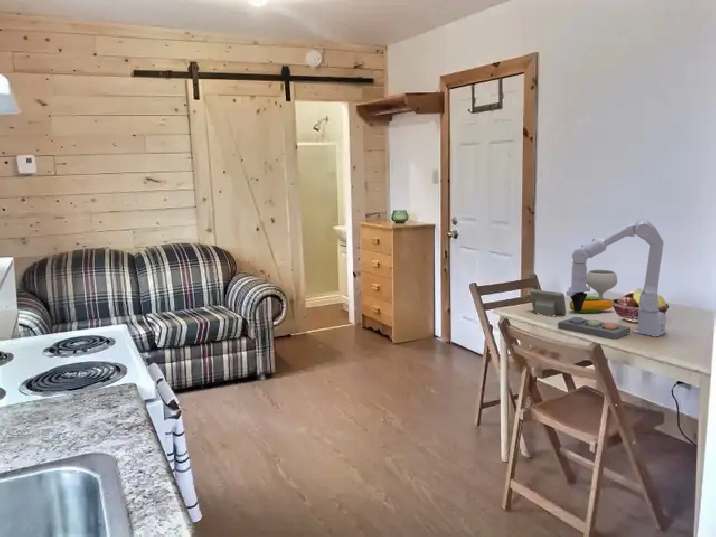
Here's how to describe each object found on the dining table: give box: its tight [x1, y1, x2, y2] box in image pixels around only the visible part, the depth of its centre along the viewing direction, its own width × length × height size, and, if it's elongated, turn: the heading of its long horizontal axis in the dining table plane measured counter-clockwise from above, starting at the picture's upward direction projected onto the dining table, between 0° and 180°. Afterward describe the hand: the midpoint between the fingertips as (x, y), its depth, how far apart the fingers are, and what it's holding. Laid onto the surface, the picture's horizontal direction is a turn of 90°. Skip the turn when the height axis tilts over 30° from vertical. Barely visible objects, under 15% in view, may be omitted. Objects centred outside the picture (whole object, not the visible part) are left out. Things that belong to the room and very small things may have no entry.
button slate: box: [571, 316, 584, 324], centre depth 252 cm, size 4×4×2 cm
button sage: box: [587, 319, 601, 327], centre depth 247 cm, size 4×4×2 cm
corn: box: [569, 295, 614, 314], centre depth 278 cm, size 7×8×20 cm
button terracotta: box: [604, 322, 618, 330], centre depth 242 cm, size 4×4×2 cm
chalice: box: [586, 269, 618, 302], centre depth 295 cm, size 14×14×15 cm
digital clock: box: [529, 288, 567, 317], centre depth 277 cm, size 16×9×11 cm, turn 34°
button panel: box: [557, 317, 631, 340], centre depth 247 cm, size 24×12×2 cm, turn 41°
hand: (577, 310), depth 252 cm, fingers closed
